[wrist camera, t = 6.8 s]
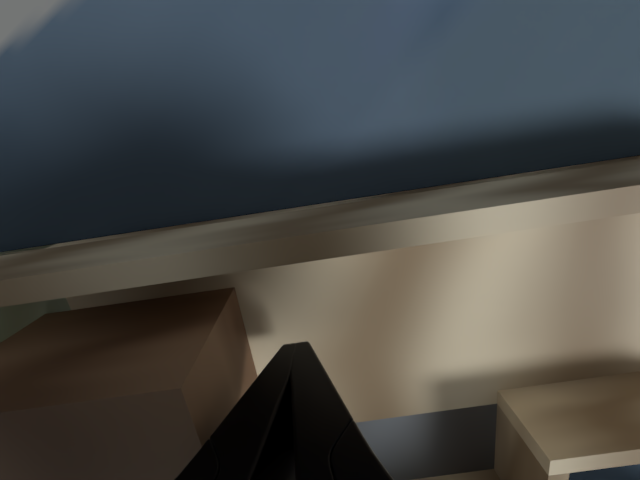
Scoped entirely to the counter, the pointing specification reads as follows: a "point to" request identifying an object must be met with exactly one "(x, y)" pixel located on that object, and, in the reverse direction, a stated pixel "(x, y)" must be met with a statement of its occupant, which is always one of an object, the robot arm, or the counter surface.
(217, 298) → the walnut block
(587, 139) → the counter surface
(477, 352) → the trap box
